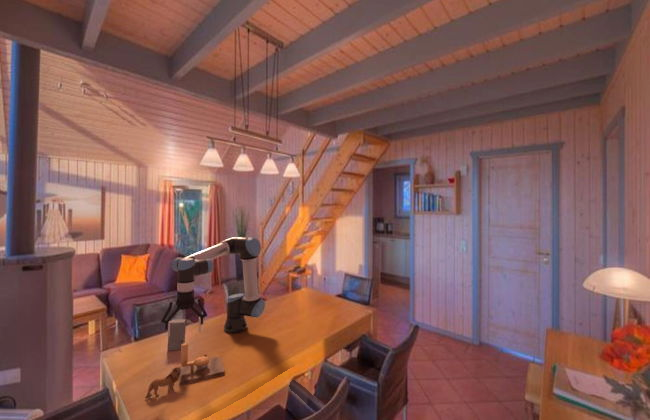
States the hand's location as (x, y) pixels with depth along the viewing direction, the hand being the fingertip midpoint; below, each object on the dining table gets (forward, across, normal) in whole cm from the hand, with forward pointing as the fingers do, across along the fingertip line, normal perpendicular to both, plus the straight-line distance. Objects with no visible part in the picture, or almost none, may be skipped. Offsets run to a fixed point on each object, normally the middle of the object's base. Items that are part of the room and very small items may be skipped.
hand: (184, 333), depth 140 cm
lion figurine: (+21, +8, +10) cm, 24 cm away
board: (+20, -8, 0) cm, 22 cm away
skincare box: (+21, +3, -33) cm, 39 cm away
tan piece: (+16, -5, 0) cm, 17 cm away
